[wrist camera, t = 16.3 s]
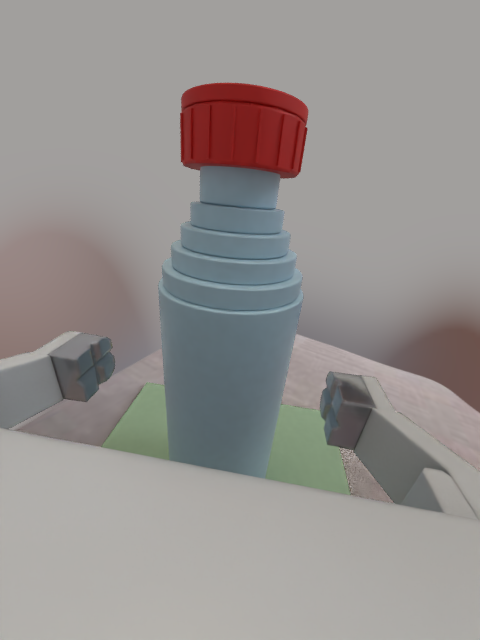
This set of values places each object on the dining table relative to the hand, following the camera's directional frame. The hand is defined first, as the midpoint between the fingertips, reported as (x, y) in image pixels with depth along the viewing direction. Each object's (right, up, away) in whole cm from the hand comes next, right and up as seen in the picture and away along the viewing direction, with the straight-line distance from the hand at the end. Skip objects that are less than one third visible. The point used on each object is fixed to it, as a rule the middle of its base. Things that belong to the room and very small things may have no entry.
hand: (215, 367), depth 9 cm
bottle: (-1, -9, +7) cm, 12 cm away
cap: (+1, +8, -1) cm, 8 cm away
